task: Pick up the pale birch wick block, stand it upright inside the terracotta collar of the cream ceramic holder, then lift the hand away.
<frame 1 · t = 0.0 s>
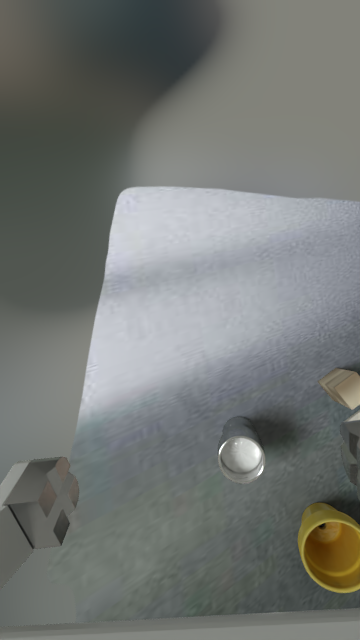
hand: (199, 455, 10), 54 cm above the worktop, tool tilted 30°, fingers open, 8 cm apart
beer glass: (239, 433, 62), on the worktop
birch wick: (334, 383, 60), on the worktop
plant pot: (320, 521, 59), on the worktop
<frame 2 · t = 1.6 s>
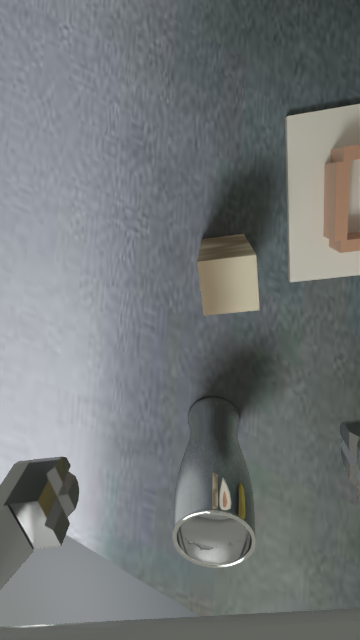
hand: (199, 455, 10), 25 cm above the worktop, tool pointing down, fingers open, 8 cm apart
beer glass: (213, 416, 41), on the worktop
birch wick: (224, 257, 33), on the worktop
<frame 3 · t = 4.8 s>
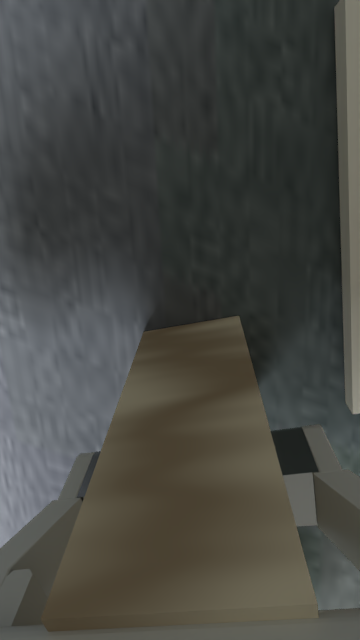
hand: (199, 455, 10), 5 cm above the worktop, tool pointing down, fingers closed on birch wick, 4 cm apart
birch wick: (199, 365, 15), on the worktop, touching gripper
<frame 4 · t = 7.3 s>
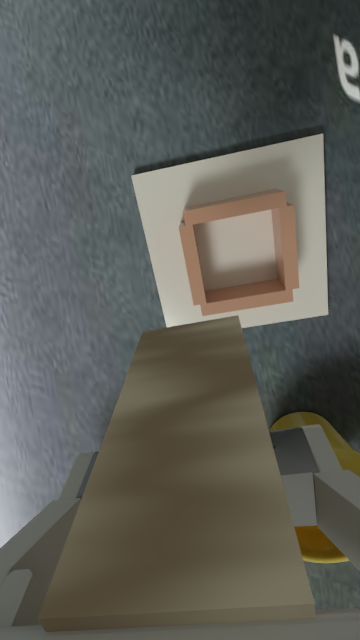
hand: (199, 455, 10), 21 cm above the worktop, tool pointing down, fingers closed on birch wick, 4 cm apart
birch wick: (198, 364, 15), point 16 cm above the worktop, touching gripper
wick holder: (235, 247, 28), on the worktop
plant pot: (298, 435, 36), on the worktop
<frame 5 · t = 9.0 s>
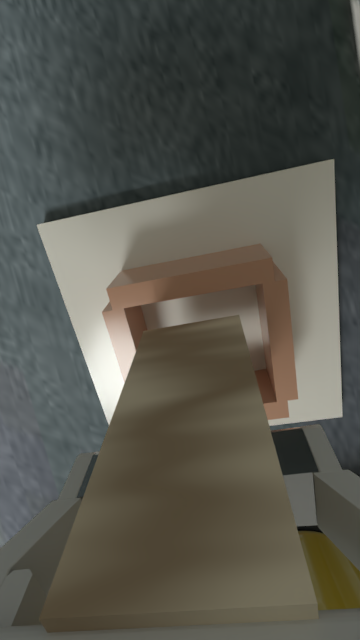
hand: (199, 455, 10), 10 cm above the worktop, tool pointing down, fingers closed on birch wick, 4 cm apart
birch wick: (199, 364, 15), point 5 cm above the worktop, touching gripper
wick holder: (203, 323, 19), on the worktop
plant pot: (302, 555, 26), on the worktop
when the fingers open (7 cm above the worktop, at t = 10.1 s): birch wick drops 1 cm, resting on wick holder.
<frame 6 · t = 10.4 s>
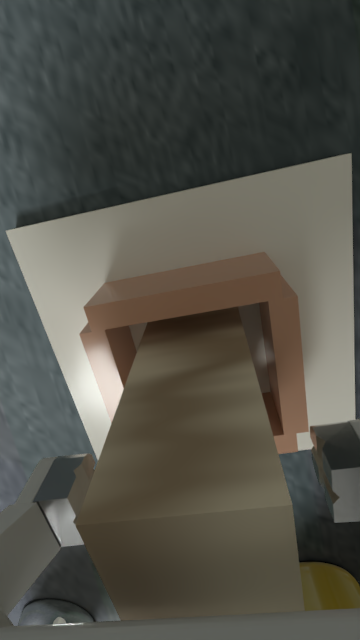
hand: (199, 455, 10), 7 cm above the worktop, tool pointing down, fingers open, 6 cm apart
beer glass: (59, 617, 28), on the worktop
birch wick: (200, 348, 16), point 1 cm above the worktop, touching wick holder
wick holder: (199, 341, 17), on the worktop
plant pot: (308, 586, 24), on the worktop
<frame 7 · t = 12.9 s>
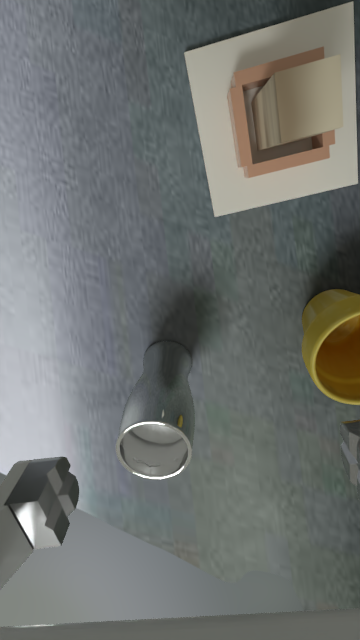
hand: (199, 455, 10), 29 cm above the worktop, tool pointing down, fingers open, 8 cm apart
beer glass: (167, 360, 43), on the worktop
birch wick: (276, 121, 31), point 1 cm above the worktop, touching wick holder
wick holder: (274, 122, 32), on the worktop
plant pot: (330, 316, 39), on the worktop
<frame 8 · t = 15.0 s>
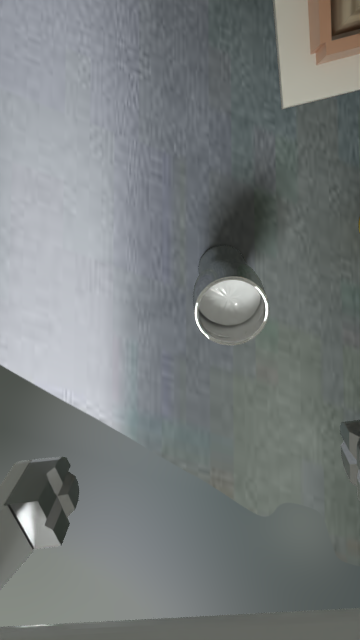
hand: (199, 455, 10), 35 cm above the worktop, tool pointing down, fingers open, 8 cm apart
beer glass: (221, 268, 44), on the worktop
birch wick: (352, 4, 32), point 1 cm above the worktop, touching wick holder
wick holder: (348, 8, 33), on the worktop
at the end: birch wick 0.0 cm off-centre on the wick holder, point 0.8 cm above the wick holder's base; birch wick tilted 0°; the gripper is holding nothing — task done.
